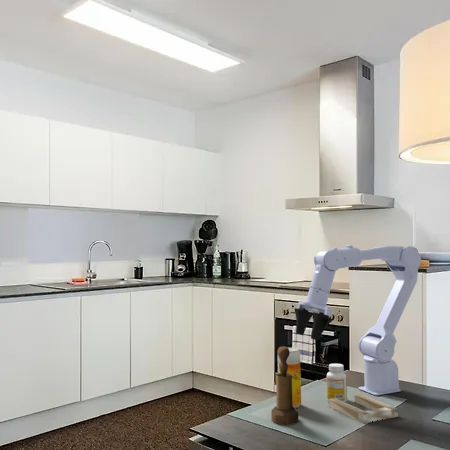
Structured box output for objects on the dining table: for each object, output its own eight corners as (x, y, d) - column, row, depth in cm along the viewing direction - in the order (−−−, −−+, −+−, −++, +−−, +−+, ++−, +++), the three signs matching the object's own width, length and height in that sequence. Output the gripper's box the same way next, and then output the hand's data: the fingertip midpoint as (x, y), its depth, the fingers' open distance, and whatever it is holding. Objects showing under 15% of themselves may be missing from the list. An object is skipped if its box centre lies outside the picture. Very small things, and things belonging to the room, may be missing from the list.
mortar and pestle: (268, 423, 119) (266, 348, 120) (275, 414, 125) (273, 343, 126) (295, 426, 117) (293, 349, 118) (300, 417, 123) (299, 344, 124)
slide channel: (360, 401, 135) (360, 393, 135) (397, 416, 122) (397, 408, 122) (329, 406, 131) (328, 399, 131) (364, 423, 118) (363, 414, 118)
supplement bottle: (334, 396, 140) (333, 361, 140) (350, 400, 136) (349, 364, 136) (323, 400, 136) (322, 365, 136) (340, 404, 132) (339, 368, 133)
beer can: (302, 409, 129) (301, 351, 130) (279, 409, 129) (278, 351, 130) (299, 402, 135) (298, 347, 136) (277, 402, 135) (276, 347, 136)
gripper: (294, 284, 145) (281, 328, 143) (323, 289, 132) (309, 338, 130) (313, 290, 148) (301, 334, 146) (343, 296, 135) (330, 344, 133)
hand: (306, 336), depth 138 cm, fingers open, 7 cm apart
